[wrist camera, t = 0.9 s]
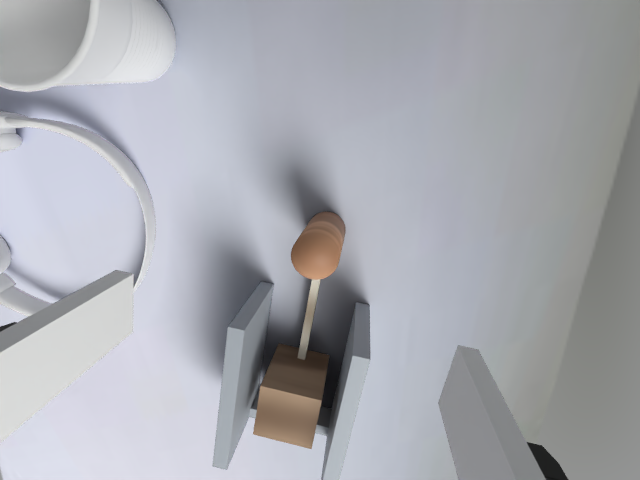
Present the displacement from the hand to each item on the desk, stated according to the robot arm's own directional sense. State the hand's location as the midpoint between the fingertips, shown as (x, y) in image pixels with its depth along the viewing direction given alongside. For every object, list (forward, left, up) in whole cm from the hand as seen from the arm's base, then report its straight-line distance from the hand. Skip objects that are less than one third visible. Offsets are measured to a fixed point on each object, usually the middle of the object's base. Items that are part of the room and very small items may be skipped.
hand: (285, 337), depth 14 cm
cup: (-12, -17, -17) cm, 27 cm away
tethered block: (+8, 0, -16) cm, 18 cm away
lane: (+12, 0, -17) cm, 21 cm away
